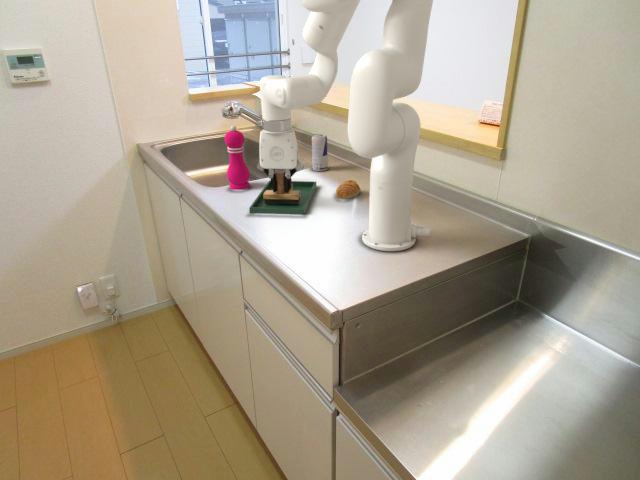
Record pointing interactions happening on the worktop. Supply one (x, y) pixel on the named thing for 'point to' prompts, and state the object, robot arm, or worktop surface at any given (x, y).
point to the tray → (305, 198)
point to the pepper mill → (236, 160)
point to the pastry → (348, 189)
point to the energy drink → (319, 152)
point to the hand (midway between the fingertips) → (281, 190)
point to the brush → (281, 192)
